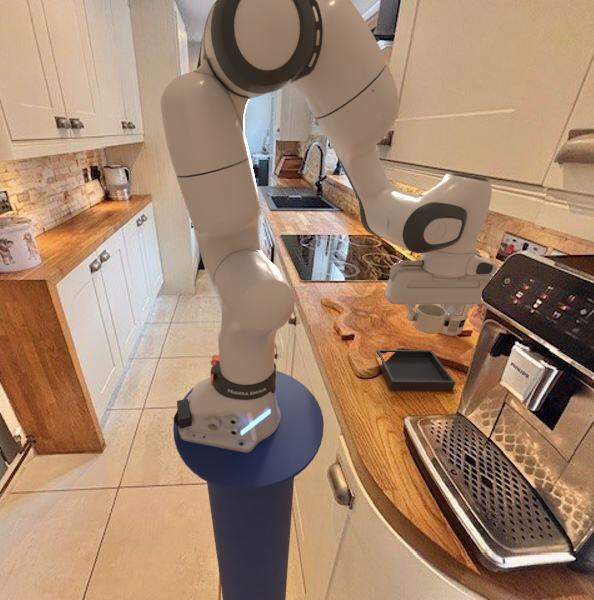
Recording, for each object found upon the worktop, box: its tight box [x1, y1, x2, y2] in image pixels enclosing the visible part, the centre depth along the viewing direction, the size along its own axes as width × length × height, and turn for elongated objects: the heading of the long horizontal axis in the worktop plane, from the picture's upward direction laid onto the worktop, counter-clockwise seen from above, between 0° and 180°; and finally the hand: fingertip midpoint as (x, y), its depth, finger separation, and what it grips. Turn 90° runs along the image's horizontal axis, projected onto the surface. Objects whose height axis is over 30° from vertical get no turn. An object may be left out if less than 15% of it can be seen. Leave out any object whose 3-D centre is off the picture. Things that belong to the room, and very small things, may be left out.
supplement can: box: [436, 304, 472, 337], centre depth 94 cm, size 8×8×15 cm
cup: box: [411, 304, 447, 335], centre depth 71 cm, size 6×6×4 cm
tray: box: [375, 349, 456, 392], centre depth 80 cm, size 14×12×3 cm
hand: (428, 319), depth 71 cm, fingers closed on cup, 6 cm apart
